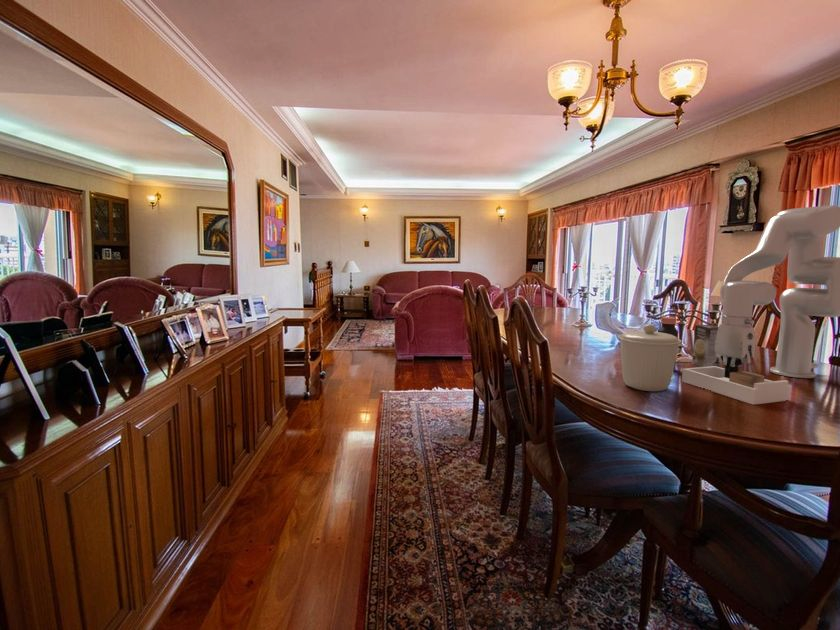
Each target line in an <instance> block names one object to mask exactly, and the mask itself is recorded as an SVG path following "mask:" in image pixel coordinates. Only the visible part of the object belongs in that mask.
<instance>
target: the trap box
mask: <svg viewBox="0 0 840 630" xmlns="http://www.w3.org/2000/svg"><path fill="white" fill-rule="evenodd" d="M681 372H682V375H681V382H682V383H685V384H689V385H692V386H695V387H697V386H698V388H700V387H701V389H703V388H705V389H704V390H707V389H708V390H707V391H710V390H711V391H710V392H713V393H716V394H719V395H722V396H725V397H728V398H731V399H735V400H737V401H738V400H739V401H740V402H744V403H746V404H750V405H759V404H761V405H762V404H769V403H771V404H772V403H777V402H785V401H786V400H788V401H790V392H791V385H789V380H786V379H783V380H774V381H773V380H770V379H766V378H764V382H762V383H754V388H751V387H747V386H744V385H741V384H737V383H734V382H730V381H729V378H725V377H724V375H725V367H722V368H720V367H716V366H710V367H700V366H698V367H689V368H688V367H687V368H682V371H681ZM786 402H787V401H786Z"/></svg>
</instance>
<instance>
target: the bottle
mask: <svg viewBox="0 0 840 630" xmlns="http://www.w3.org/2000/svg"><path fill="white" fill-rule="evenodd" d="M660 319H661V320H660V324H661V327H660V328H658V329H657V332H661V333H667V334H671V335H673V336H675V337H677V338H678V339H679V330H678V329H677V328H676V326H677V325H676V324H677V317H675V316H674V317H673V316H661V318H660ZM676 363H677V360H676V361H675V366H674V370H673V372H674V371H675V370H676V366H677V365H676Z"/></svg>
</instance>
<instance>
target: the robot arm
mask: <svg viewBox="0 0 840 630" xmlns="http://www.w3.org/2000/svg"><path fill="white" fill-rule="evenodd" d="M839 229H840V206H838V205H835V204H833V205H830V204H829V205H820V206H819V205H818V206H809V207H808V206H807V207H796V208H789V209H784V210H782V211H779V212H777V214H776V215H773V217H770V219H769V220H768V221H767V223H766V225H765V227H764V229H763V231H762V233H761V236H760V238H759V241H758V242H757V244H756V247H755V248H754V250H753V252H752V253H750V254H748V255H746V256H744V258H742V259H740V260H739V261H737V262H736V263H735V264H734V265H732V266H731V268H730V269H729V270H728V271H727V273H726V275H725V277H724V279H723V282H722V284H721V287H720V291H719V295H720V298H721V300H723V304H722V311H721V313H722V314H721V322H720V323H719V325H718V327H719V328H718V331H717V335H716V340H715V352H716V354H715V355H716V356H717V357H719V358H721V359H722V365H724V369H725V375H724V377H725V378H730V372H739V367H741V366H742V364H750V363H752V360H751V359H753V358H755V354H756V333H755V328H754V327H752V325H754V324H755V320H753V309H754V306H766V305H770V304H772V302H774V300H775V299H776V296H777V288H776V287H775V286H774V285H773V284H772V283H770V282H767V281H753V280H743V279H745V278H746V277H747V276H750V274H754V273H755V272H757V271H761V270H764V269H768V268H770V267H774V266H777V265H779V264H782V263H783V262H784V261H786V258H787V268H786V269H787V271H786V274H787V275H786V276H787V280H788V281H789V282H790V283H792V284H797V285H798V284H799V285H815V286H816V285H817V286H825V287H826V288H815V287H814V288H813V287H790V288H787V289H785V290H783V291H782V293H781V294H780V296H779V308H780V309H779V310H780V322H779V323H780V325H779V332H778V333H779V334H778V341H777V343H778V344H777V350H776V351H777V352H776V359H775V366H771V367H769V371H770V373H773V374H776V375H780V376H784V377H788V378H789V377H790V378H797V379H813V378H816V376H817V373H815V372H814V371H812V369H817V368H818V367H819V363H816V362H812V360H813V354H814V353H813V352H814V345H815V335H816V326H815V323H814V322H813V319H811V318H810V316H811V317H813V316H815V317H822V318H823V317H825V318H839V317H840V257H838V256H822V249H823V248H822V247H823V243H822V240H821V237H825V236H827V235H829V234H832V233H834V232H836V231H837V230H839Z"/></svg>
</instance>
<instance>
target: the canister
mask: <svg viewBox="0 0 840 630" xmlns="http://www.w3.org/2000/svg"><path fill="white" fill-rule="evenodd" d="M656 330H657V327H656V325H655V324H651V323H648V324H645V325H644V326H643V330H629V331H625V332H622V333H621V334H618V336H617V338H618V339H619V340H620V341H619V342H620V346H619V347H620V360H621V372H622V373H621V374H622V379H623V382H624V384H625V385H626V386H628V387H629V388H632V389H635V390H639V391H645V392H662V391H665V390H667V389H668V388H669V387H670V385H671V381H672V377H673V373H674V371H675V370H674V366H675V361H676V362H677V356H678V351H679V345H680V344H682V341H683V340H681V339H680V338H679V337H678V338H677V337H675V336H673V335H671V334H667V333H661V332H658V331H656ZM675 367H676V366H675ZM673 370H674V371H673Z"/></svg>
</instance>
